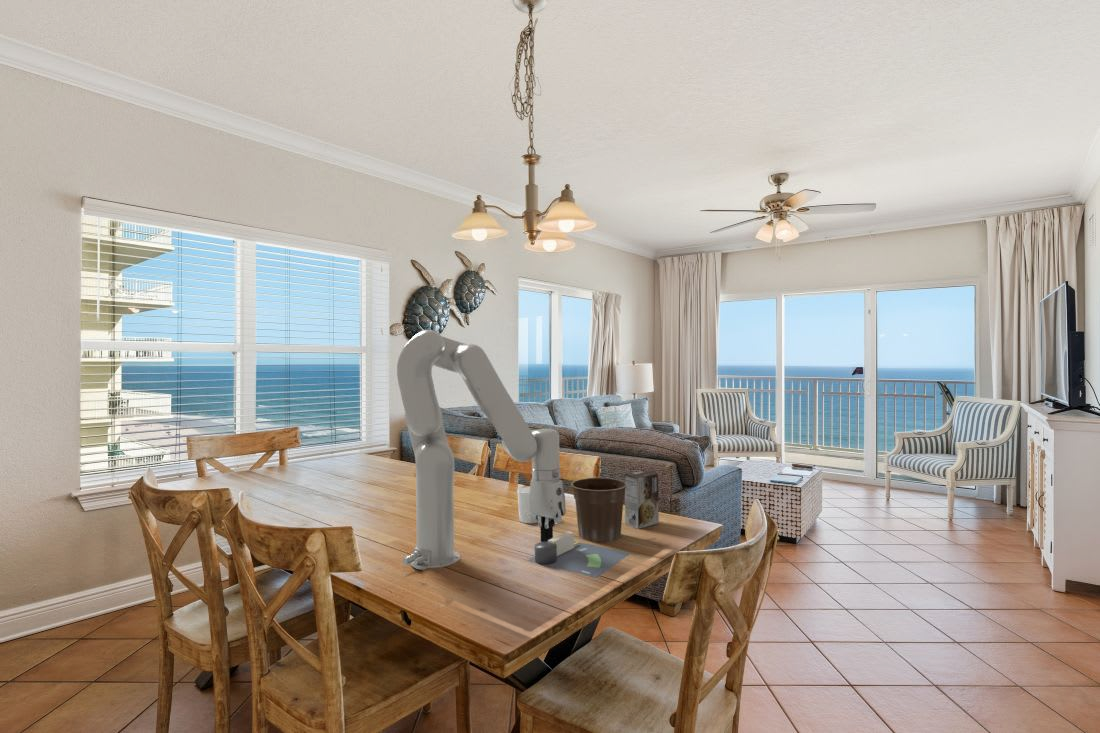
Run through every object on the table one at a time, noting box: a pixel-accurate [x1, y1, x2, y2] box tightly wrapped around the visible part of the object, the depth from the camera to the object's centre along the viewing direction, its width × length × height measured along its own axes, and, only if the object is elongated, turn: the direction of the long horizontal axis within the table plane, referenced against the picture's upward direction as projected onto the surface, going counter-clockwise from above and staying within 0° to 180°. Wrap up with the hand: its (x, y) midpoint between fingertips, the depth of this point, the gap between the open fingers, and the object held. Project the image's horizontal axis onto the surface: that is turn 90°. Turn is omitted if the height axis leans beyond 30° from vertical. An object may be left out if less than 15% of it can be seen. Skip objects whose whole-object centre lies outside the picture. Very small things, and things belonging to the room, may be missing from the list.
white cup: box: [517, 486, 538, 524], centre depth 176 cm, size 8×8×10 cm
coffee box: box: [624, 469, 660, 530], centre depth 172 cm, size 9×6×16 cm
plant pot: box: [570, 477, 627, 543], centre depth 159 cm, size 16×16×16 cm
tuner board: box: [527, 540, 631, 579], centre depth 142 cm, size 19×20×1 cm
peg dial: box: [534, 530, 580, 564], centre depth 144 cm, size 17×6×4 cm, turn 142°
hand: (546, 541), depth 149 cm, fingers closed
